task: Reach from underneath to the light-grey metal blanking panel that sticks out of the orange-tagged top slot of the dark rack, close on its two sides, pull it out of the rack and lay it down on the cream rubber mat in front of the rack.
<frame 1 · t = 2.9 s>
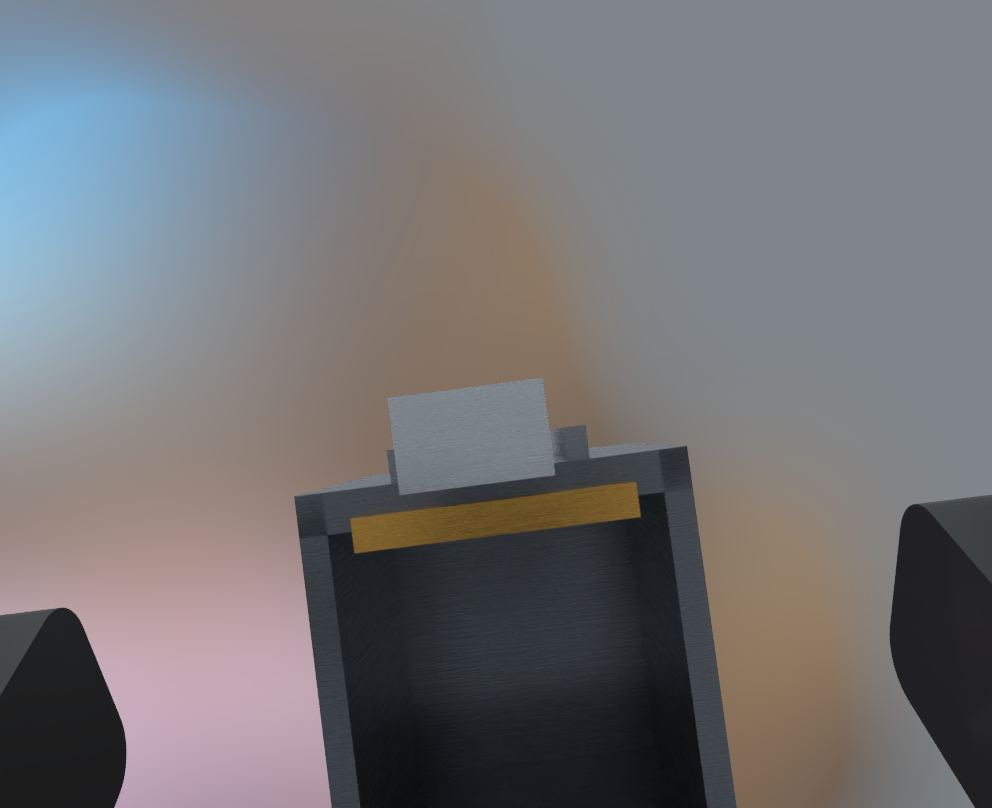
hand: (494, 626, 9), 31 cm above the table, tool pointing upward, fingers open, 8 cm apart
panel: (492, 468, 35), point 32 cm above the table, touching rack
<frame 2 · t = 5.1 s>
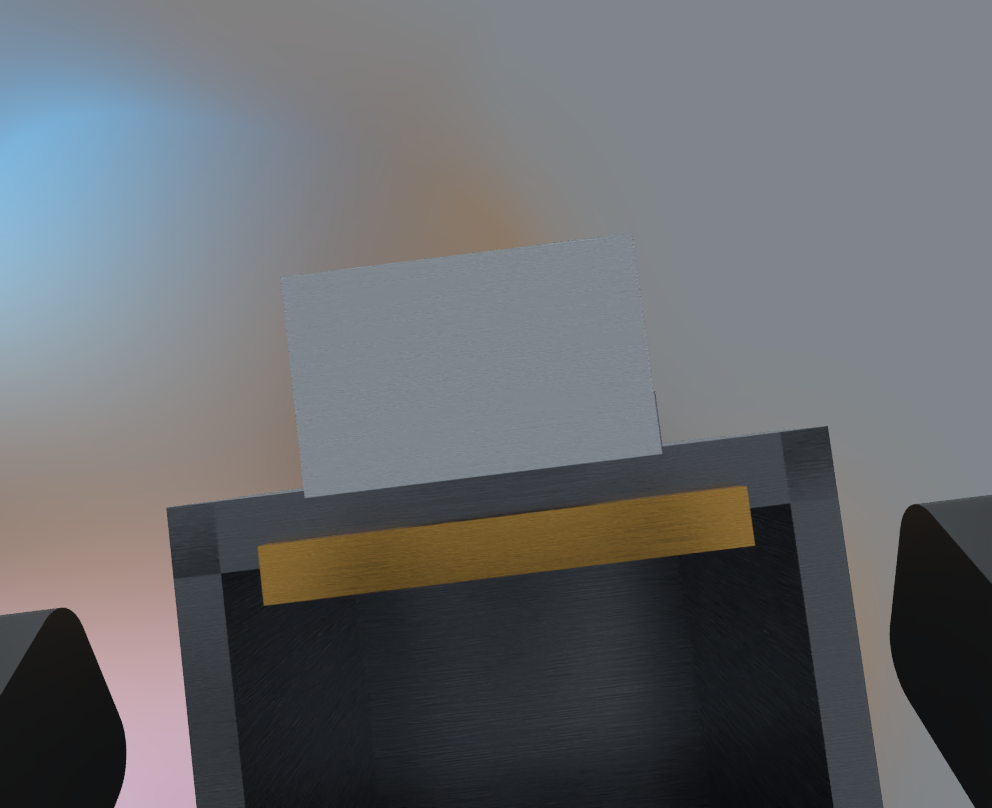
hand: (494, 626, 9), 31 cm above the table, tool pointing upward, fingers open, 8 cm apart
panel: (498, 465, 22), point 32 cm above the table, touching rack
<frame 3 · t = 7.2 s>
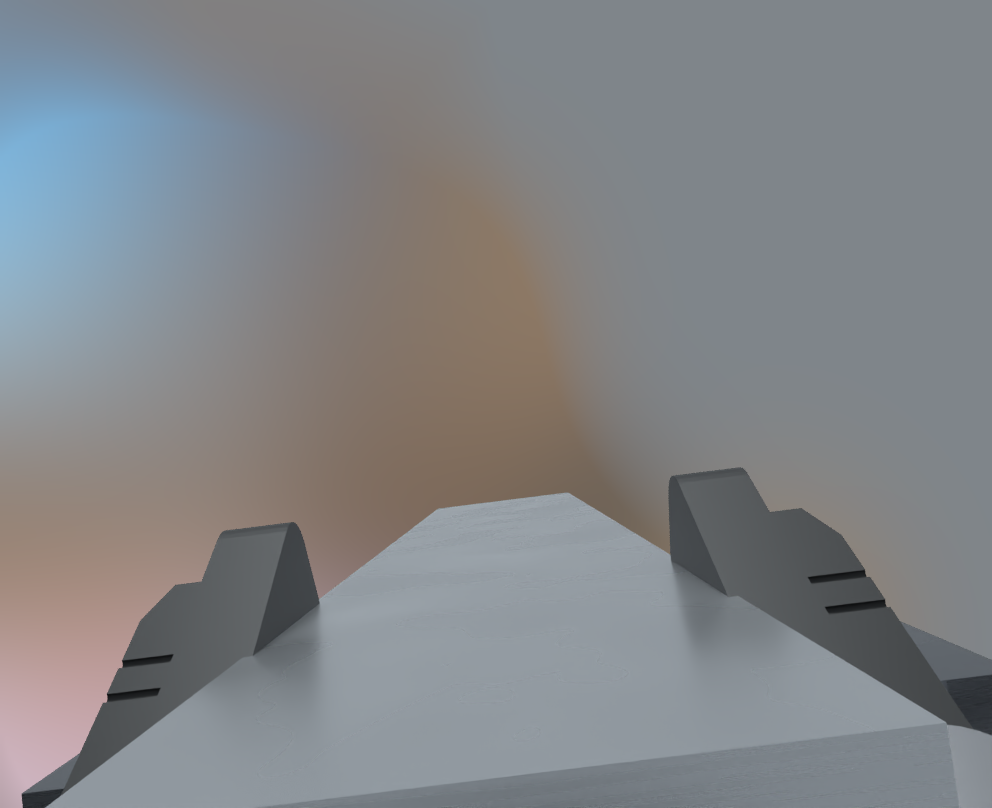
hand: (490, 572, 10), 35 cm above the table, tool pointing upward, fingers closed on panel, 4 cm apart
panel: (517, 679, 16), point 32 cm above the table, touching gripper, rack
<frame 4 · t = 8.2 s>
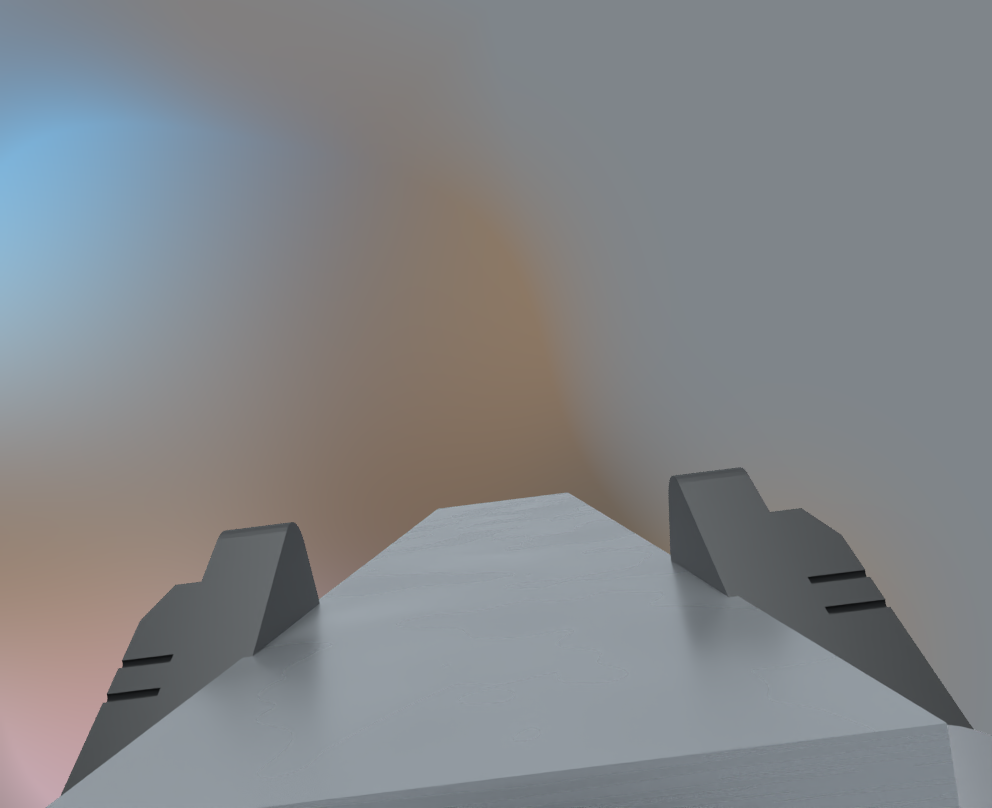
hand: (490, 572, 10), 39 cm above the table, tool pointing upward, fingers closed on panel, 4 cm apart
panel: (517, 679, 16), point 36 cm above the table, touching gripper
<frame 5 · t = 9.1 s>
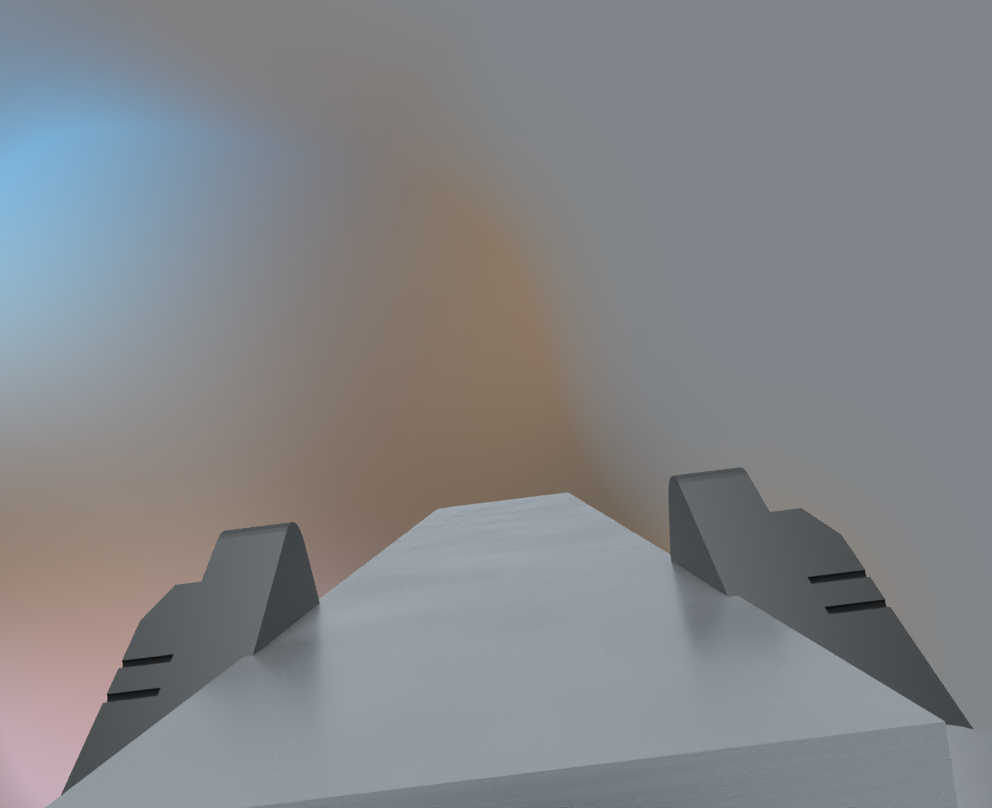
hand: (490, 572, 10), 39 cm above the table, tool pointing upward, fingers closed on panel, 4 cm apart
panel: (517, 678, 16), point 36 cm above the table, touching gripper
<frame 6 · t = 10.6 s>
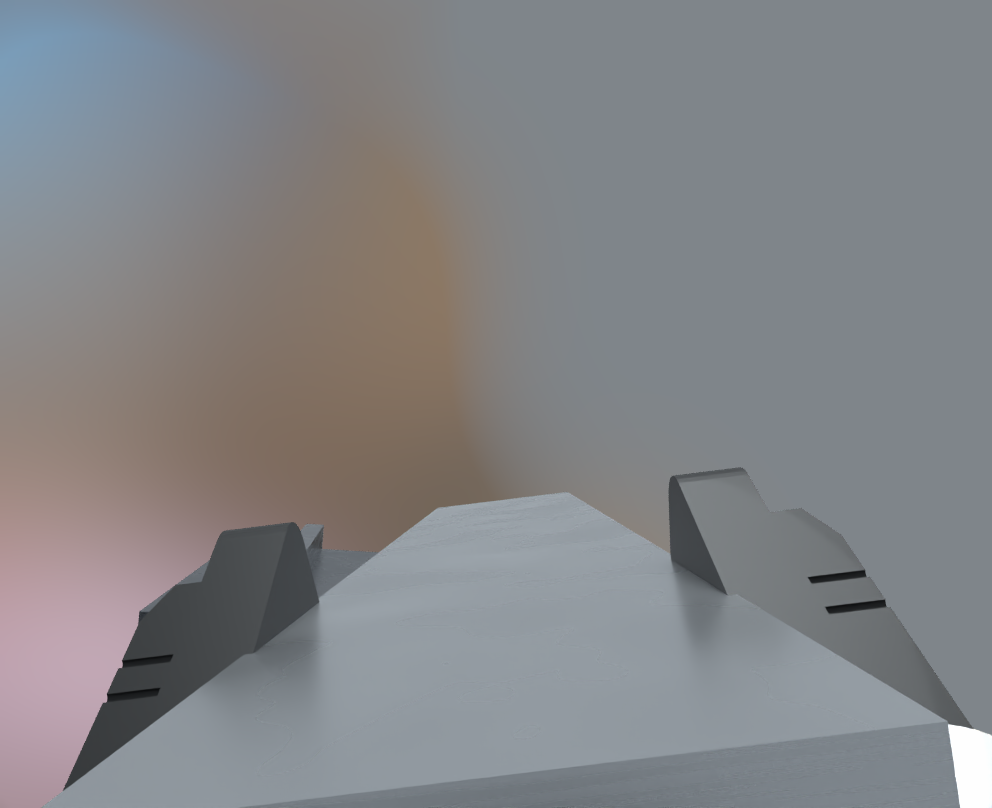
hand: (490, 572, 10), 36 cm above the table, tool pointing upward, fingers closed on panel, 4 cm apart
panel: (516, 678, 16), point 34 cm above the table, tilted 11°, touching gripper
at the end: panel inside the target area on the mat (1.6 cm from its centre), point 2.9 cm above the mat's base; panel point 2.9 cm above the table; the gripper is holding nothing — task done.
